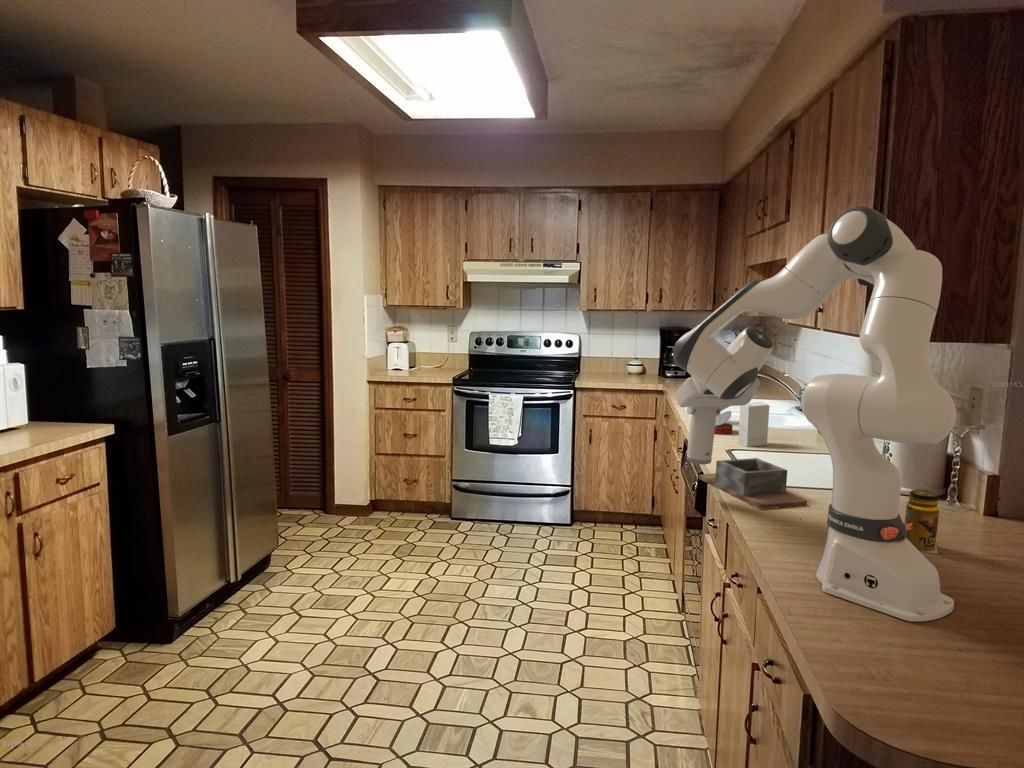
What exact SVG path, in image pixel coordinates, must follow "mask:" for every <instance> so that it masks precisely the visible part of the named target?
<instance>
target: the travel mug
mask: <svg viewBox="0 0 1024 768" xmlns="http://www.w3.org/2000/svg"><path fill="white" fill-rule="evenodd" d="M695 409H696V412H695V413H694V414H690V423H689V432H688V442H687V453H686V461H687V462H688V463H692V464H696V465H709V464H711V463H712V458H713V457H712V456H713V449H714V440H715V434H714V431H715V422H716V412H717V406H710V407H696V408H695Z"/></svg>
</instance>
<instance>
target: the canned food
mask: <svg viewBox="0 0 1024 768" xmlns="http://www.w3.org/2000/svg"><path fill="white" fill-rule="evenodd" d="M731 416H732V411H731V410H727V411H724V412H722V413H721V412H720V414H719V415H717V416H716V422H715V431H714V435H717V436H719V435H720V436H728V435H732V434H733V425H732V424H730V423H728V422H729V420H730V419H731Z"/></svg>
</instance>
